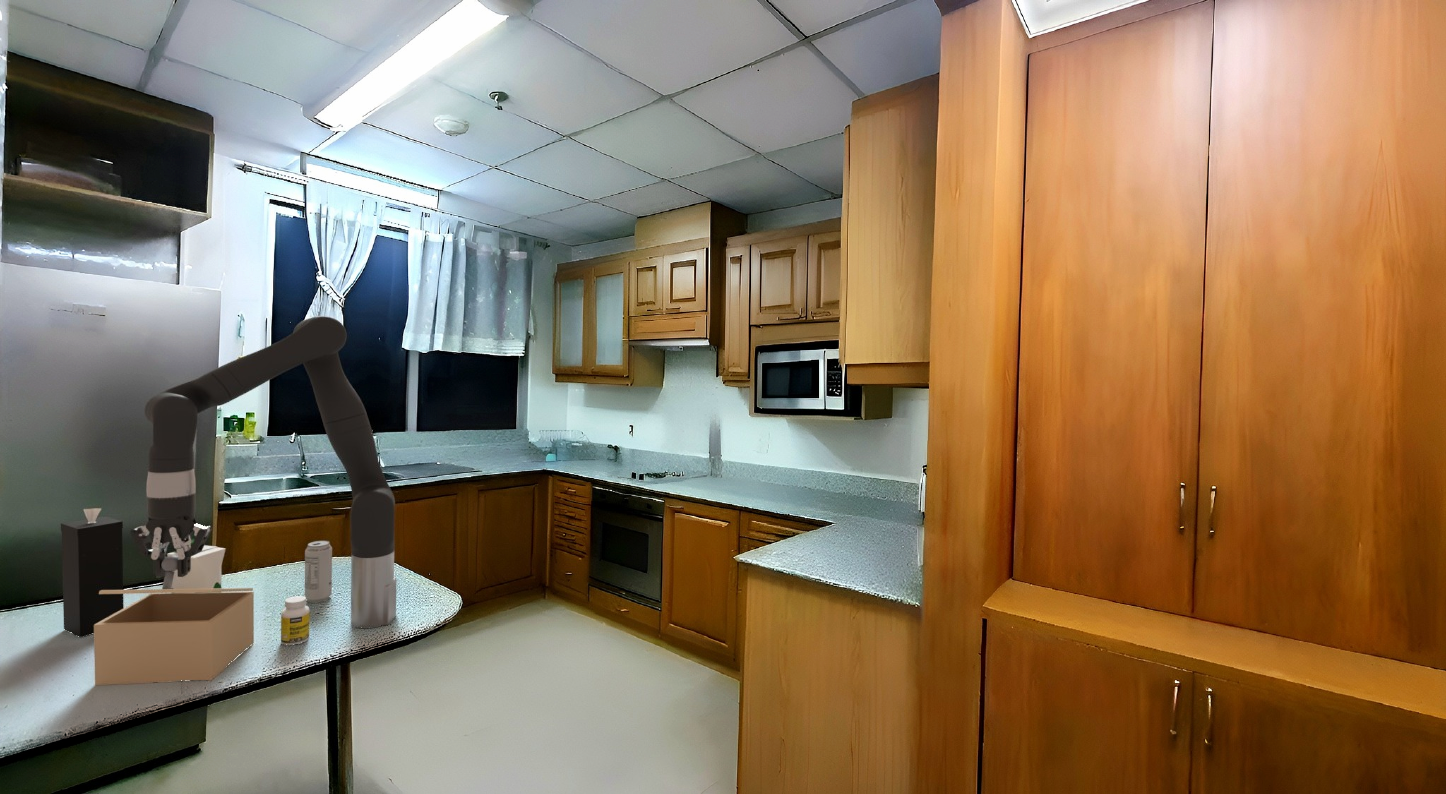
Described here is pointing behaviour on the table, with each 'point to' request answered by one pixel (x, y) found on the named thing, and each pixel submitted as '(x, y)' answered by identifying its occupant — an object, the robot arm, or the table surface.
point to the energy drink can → (318, 571)
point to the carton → (173, 637)
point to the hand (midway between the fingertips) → (172, 575)
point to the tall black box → (91, 571)
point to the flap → (171, 565)
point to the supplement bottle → (295, 621)
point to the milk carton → (201, 570)
